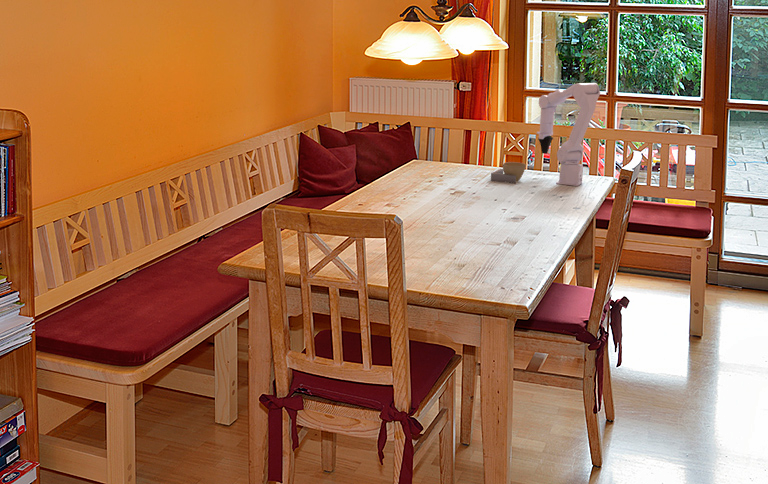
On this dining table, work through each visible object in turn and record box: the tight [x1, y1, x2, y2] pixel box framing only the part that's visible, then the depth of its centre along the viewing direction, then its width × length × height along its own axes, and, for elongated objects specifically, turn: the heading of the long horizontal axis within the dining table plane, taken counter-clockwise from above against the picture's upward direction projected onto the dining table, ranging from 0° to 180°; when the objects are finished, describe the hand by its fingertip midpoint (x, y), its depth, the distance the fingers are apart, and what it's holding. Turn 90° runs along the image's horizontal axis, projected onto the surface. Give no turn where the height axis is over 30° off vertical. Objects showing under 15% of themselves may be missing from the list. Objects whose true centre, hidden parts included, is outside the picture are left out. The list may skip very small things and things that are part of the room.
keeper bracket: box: [490, 168, 517, 184], centre depth 362 cm, size 11×12×4 cm
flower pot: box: [502, 161, 526, 182], centre depth 361 cm, size 10×10×7 cm
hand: (544, 153), depth 369 cm, fingers closed
